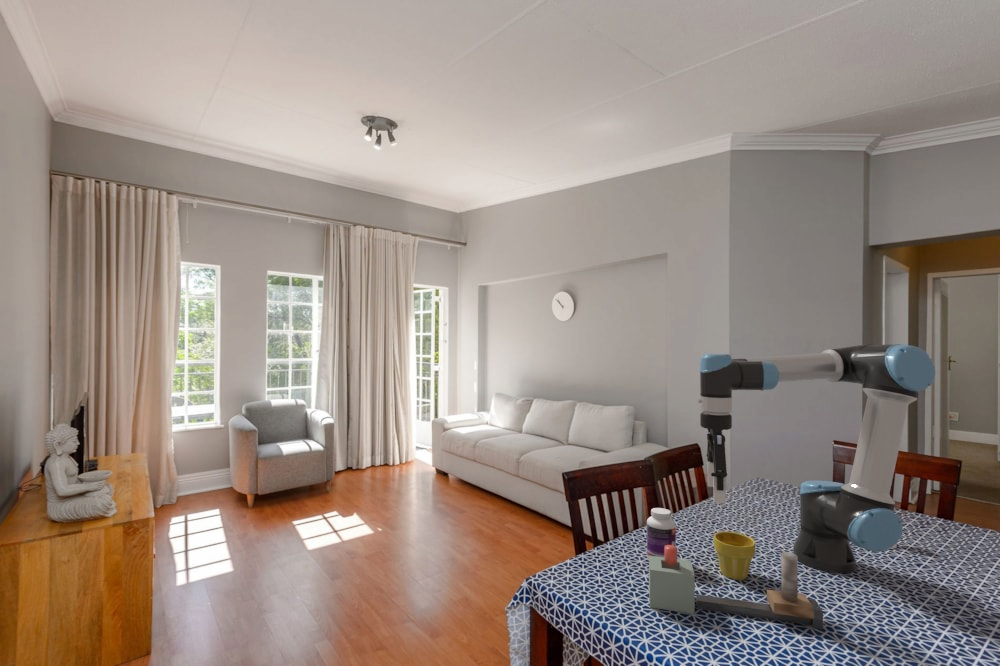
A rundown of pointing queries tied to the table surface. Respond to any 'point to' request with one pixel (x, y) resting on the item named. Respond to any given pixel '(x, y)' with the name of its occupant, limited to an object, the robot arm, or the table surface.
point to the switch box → (671, 585)
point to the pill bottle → (660, 532)
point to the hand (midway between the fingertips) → (716, 494)
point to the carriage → (789, 591)
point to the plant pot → (734, 553)
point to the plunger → (670, 555)
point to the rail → (756, 610)
